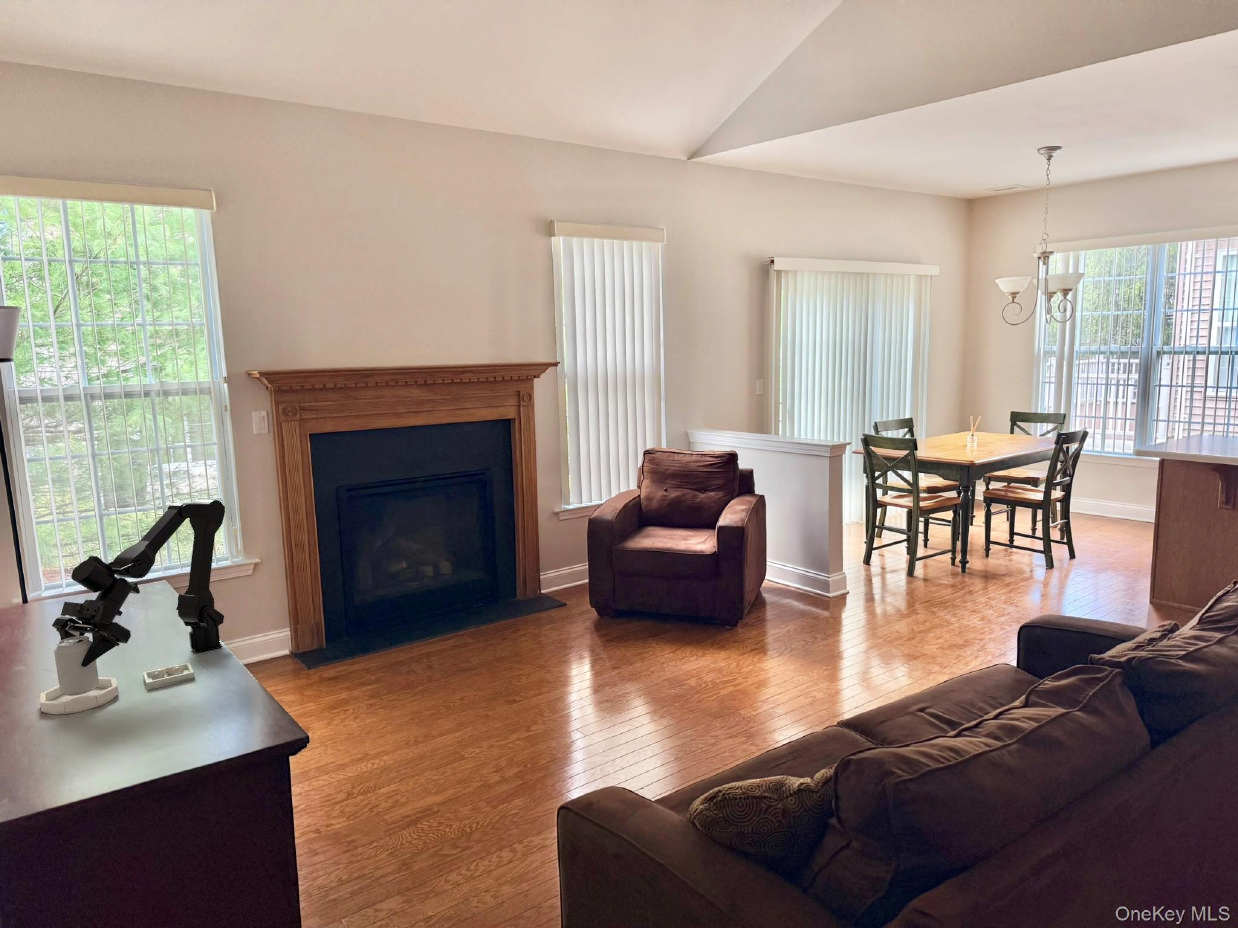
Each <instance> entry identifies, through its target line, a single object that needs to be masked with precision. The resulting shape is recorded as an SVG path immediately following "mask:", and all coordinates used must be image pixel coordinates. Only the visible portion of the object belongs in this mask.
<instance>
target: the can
mask: <svg viewBox="0 0 1238 928" xmlns="http://www.w3.org/2000/svg"><path fill="white" fill-rule="evenodd" d="M92 641H93V640H92ZM92 641H91V640H90V636H87V635H84V636H76V637H71V638H67V639H64V640H61V639H60V640H59V641H57V643H56V645H57V646H56V648H55V649H54V651H53V653H54V658H55V659H54V660H55V666H56V672H57V681H58V685H59V688H60V692H61V693H63V694H65V695H67V696H76V695H81V694H85V693H88V692H90V691H92V690H94V689H95V687H96V686H97V685H98V684H99V678H98V677H99V672H98V666H97V665H98V664H97V659H96V660H95V661H93V662H92V663H91V664H89V665H88V666H87V667H83V666H81V664H82V661H83V659H84V657H85V655H86V653H87V651H88V649H89V647H90V645H91V644H92Z"/></svg>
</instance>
